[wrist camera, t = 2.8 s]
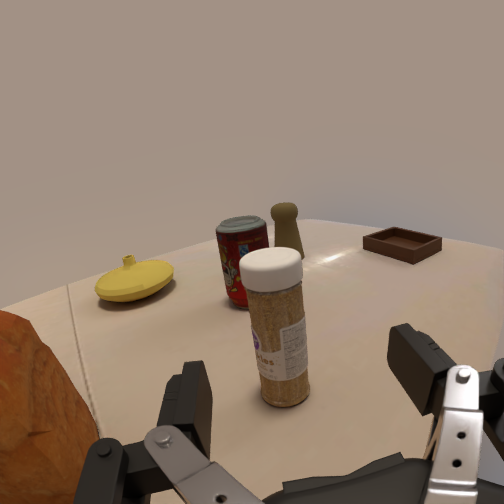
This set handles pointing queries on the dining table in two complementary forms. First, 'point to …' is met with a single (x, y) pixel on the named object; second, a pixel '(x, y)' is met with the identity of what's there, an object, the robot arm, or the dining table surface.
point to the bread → (38, 420)
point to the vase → (134, 280)
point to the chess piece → (286, 227)
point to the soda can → (239, 251)
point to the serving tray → (403, 244)
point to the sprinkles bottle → (277, 322)
